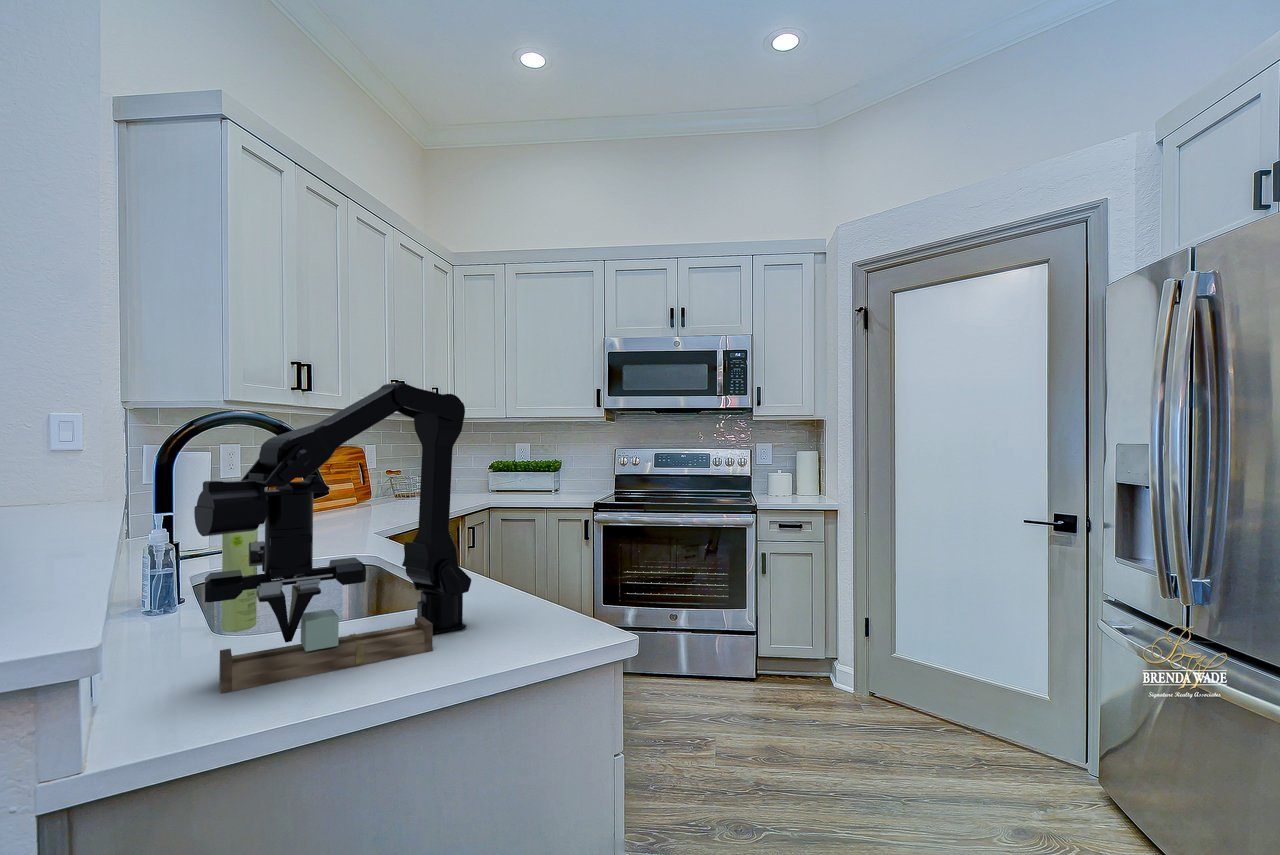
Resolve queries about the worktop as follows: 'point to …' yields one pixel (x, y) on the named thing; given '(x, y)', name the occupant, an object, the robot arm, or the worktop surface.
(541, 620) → the worktop surface
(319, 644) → the block
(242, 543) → the tube
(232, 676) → the rail
